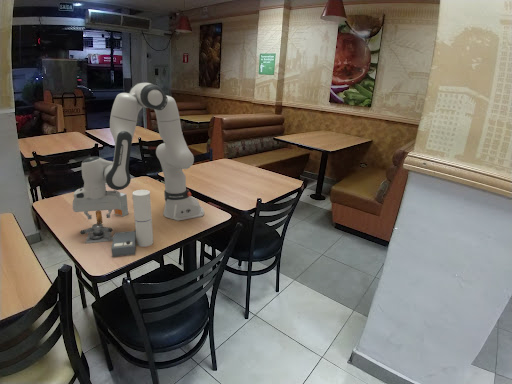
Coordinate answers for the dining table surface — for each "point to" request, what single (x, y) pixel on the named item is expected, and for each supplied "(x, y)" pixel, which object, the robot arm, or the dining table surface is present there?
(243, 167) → the dining table surface
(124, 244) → the stand
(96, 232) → the capstan
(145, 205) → the cylindrical container
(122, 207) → the skincare box
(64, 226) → the dining table surface
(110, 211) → the robot arm
